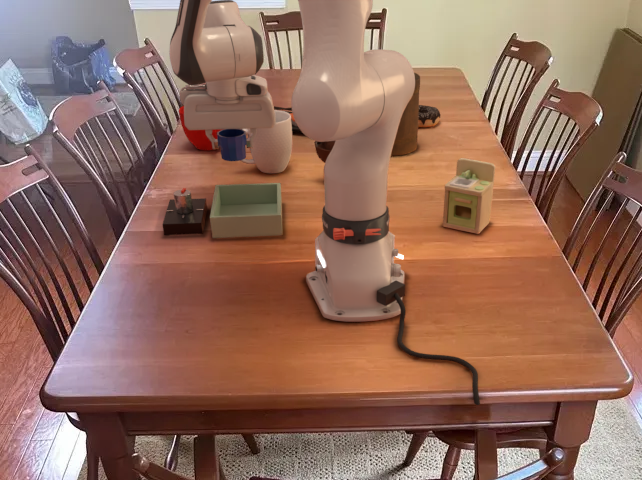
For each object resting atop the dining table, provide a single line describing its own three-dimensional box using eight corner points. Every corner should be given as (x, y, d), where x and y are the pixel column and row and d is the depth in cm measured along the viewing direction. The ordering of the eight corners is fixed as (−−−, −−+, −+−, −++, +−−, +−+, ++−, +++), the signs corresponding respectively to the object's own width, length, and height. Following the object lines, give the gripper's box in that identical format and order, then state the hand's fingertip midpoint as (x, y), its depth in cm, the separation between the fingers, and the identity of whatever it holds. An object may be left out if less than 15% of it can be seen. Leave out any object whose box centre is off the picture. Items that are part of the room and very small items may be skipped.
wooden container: (406, 136, 199) (410, 51, 185) (424, 153, 188) (430, 65, 174) (356, 140, 196) (356, 55, 182) (371, 158, 185) (372, 69, 171)
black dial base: (203, 236, 149) (201, 222, 147) (164, 237, 148) (162, 223, 146) (207, 210, 159) (205, 197, 157) (171, 212, 158) (169, 198, 156)
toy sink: (440, 227, 152) (445, 167, 144) (453, 215, 157) (458, 156, 149) (477, 236, 148) (484, 175, 140) (489, 223, 153) (497, 163, 145)
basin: (282, 237, 148) (281, 214, 145) (212, 240, 147) (209, 217, 144) (281, 204, 162) (280, 182, 159) (218, 206, 161) (215, 184, 158)
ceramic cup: (192, 162, 183) (187, 122, 177) (179, 142, 195) (174, 104, 189) (241, 155, 187) (237, 116, 181) (225, 136, 199) (221, 99, 193)
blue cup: (247, 161, 160) (245, 137, 157) (219, 162, 160) (216, 137, 156) (248, 151, 165) (246, 127, 162) (220, 152, 165) (218, 128, 161)
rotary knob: (190, 214, 150) (187, 195, 147) (174, 213, 150) (170, 194, 148) (195, 207, 153) (192, 188, 150) (179, 206, 153) (176, 187, 150)
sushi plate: (230, 128, 205) (229, 114, 202) (271, 100, 227) (270, 87, 225) (324, 138, 197) (323, 124, 195) (356, 108, 220) (356, 95, 217)
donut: (438, 116, 213) (439, 103, 210) (441, 129, 204) (442, 115, 201) (401, 116, 213) (402, 103, 211) (403, 129, 204) (404, 115, 201)
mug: (239, 181, 173) (234, 126, 165) (232, 165, 181) (226, 113, 173) (298, 174, 176) (296, 120, 168) (288, 159, 184) (285, 107, 176)
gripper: (176, 89, 149) (186, 153, 158) (273, 86, 151) (277, 151, 159) (179, 81, 154) (188, 144, 163) (273, 79, 155) (277, 142, 164)
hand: (233, 147), depth 161 cm, fingers closed on blue cup, 6 cm apart
